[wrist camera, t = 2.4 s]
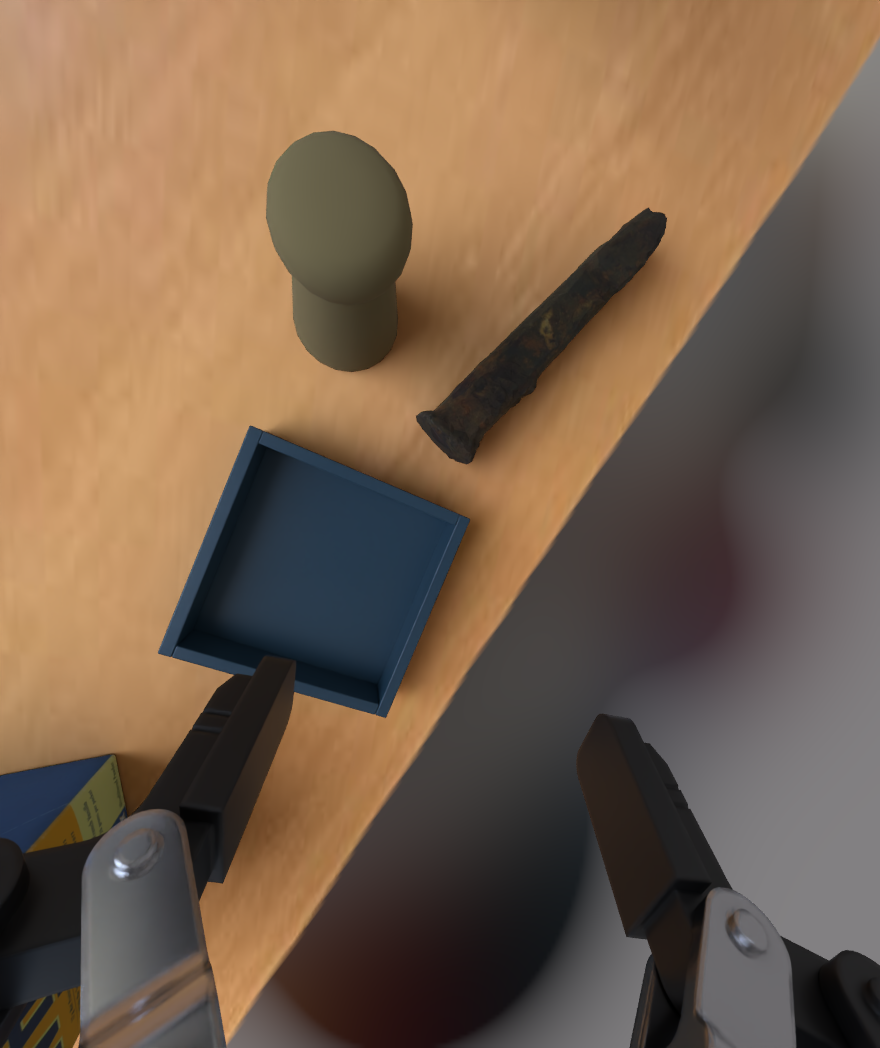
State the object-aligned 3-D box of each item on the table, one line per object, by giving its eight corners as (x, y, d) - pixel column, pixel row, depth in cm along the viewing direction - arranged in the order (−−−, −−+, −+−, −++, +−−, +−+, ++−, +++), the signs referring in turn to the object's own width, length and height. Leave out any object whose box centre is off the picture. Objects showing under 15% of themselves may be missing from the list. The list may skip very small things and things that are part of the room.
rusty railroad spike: (452, 469, 26) (472, 468, 22) (409, 422, 26) (422, 411, 21) (650, 278, 28) (708, 240, 23) (617, 227, 27) (670, 177, 22)
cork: (365, 392, 25) (373, 328, 14) (272, 331, 23) (203, 208, 13) (416, 307, 25) (463, 179, 14) (327, 241, 23) (304, 43, 13)
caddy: (180, 632, 24) (157, 653, 21) (262, 431, 24) (249, 425, 21) (382, 692, 27) (385, 718, 24) (458, 514, 27) (470, 519, 24)
